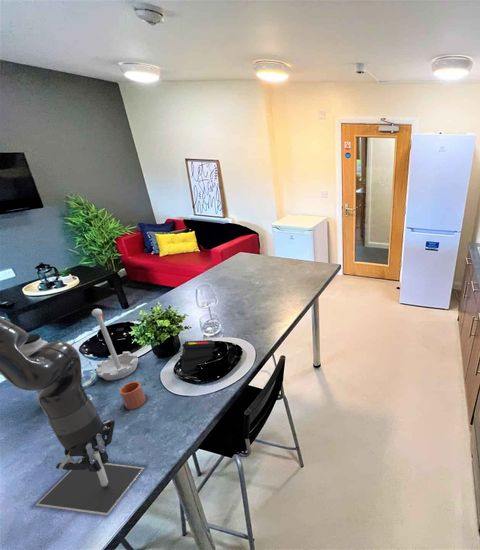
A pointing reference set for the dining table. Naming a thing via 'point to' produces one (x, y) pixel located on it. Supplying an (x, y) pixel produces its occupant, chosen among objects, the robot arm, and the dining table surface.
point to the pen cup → (132, 395)
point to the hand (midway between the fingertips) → (100, 466)
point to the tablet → (91, 489)
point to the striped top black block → (195, 355)
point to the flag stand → (114, 356)
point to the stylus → (101, 473)
